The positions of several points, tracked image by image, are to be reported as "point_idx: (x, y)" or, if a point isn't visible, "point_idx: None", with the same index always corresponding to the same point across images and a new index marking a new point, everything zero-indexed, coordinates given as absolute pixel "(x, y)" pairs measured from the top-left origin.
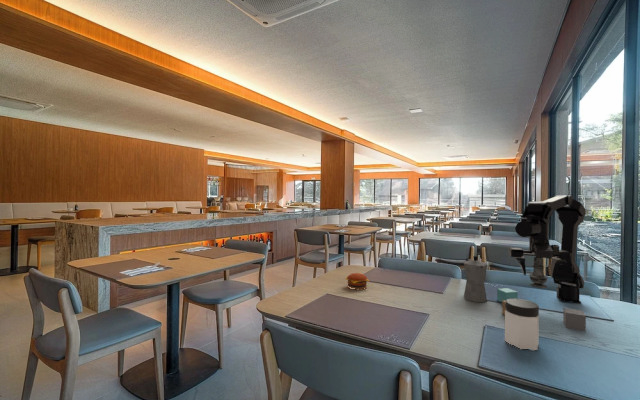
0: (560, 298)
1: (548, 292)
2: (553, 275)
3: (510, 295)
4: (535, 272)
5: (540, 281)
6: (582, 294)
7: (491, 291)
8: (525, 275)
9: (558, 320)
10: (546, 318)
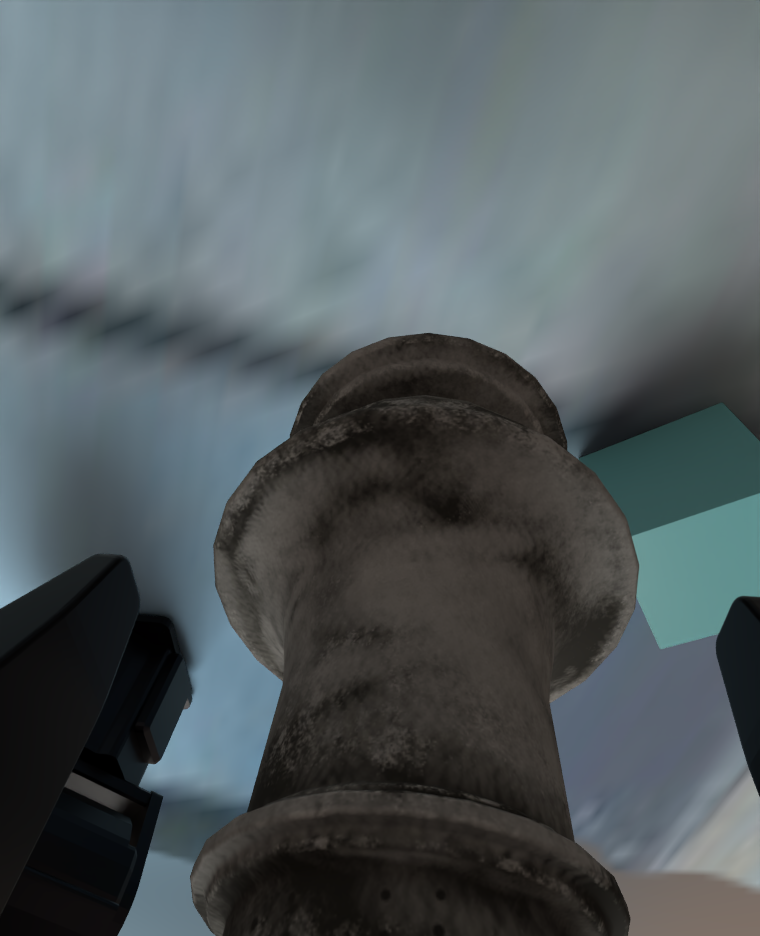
0: (171, 652)
1: (230, 762)
2: (61, 584)
3: (704, 480)
4: (527, 641)
5: (424, 400)
6: None
7: (676, 715)
8: (744, 596)
9: (300, 8)
10: (425, 32)
